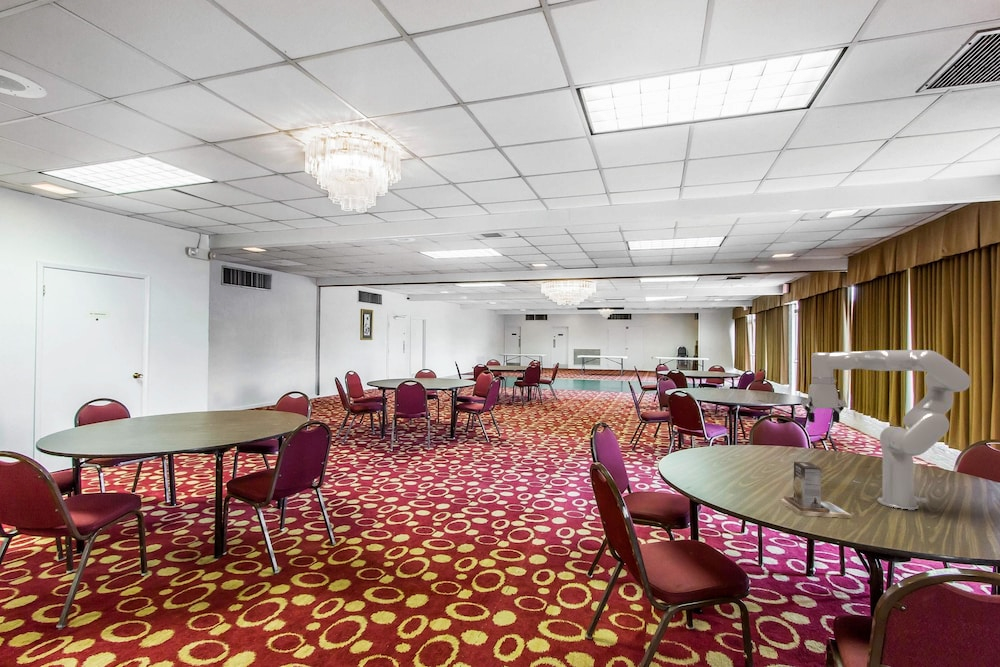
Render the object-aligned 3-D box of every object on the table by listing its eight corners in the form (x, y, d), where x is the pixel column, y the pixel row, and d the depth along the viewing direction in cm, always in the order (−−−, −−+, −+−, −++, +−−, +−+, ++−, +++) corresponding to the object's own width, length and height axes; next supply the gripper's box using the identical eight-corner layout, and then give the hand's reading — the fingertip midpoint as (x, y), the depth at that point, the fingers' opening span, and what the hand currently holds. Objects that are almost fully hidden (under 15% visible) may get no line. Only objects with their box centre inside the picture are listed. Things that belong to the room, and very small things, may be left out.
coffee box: (792, 501, 183) (792, 461, 183) (810, 502, 182) (810, 462, 182) (803, 509, 174) (803, 467, 174) (822, 510, 172) (822, 468, 173)
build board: (828, 505, 183) (828, 498, 183) (851, 518, 169) (851, 511, 169) (781, 502, 185) (781, 495, 185) (798, 515, 171) (798, 508, 171)
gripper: (838, 380, 195) (839, 420, 195) (796, 380, 197) (797, 420, 197) (850, 382, 188) (851, 423, 187) (806, 382, 190) (807, 423, 189)
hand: (823, 422), depth 192 cm, fingers open, 9 cm apart
